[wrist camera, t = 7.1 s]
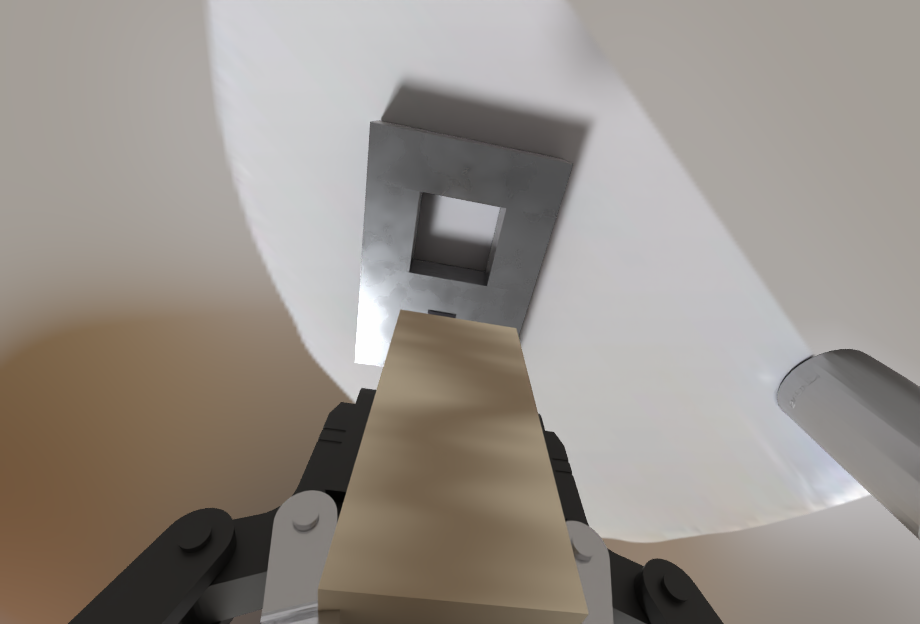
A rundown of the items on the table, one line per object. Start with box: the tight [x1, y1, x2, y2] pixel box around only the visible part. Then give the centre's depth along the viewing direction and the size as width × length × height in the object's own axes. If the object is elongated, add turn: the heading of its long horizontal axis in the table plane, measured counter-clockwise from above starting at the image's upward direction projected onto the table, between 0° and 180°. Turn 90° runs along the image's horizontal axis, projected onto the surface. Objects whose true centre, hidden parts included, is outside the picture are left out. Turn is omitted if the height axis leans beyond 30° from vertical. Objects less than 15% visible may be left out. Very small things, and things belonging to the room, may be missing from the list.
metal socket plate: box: [355, 120, 573, 367], centre depth 31 cm, size 14×20×3 cm
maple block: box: [318, 309, 589, 624], centre depth 11 cm, size 4×4×9 cm
